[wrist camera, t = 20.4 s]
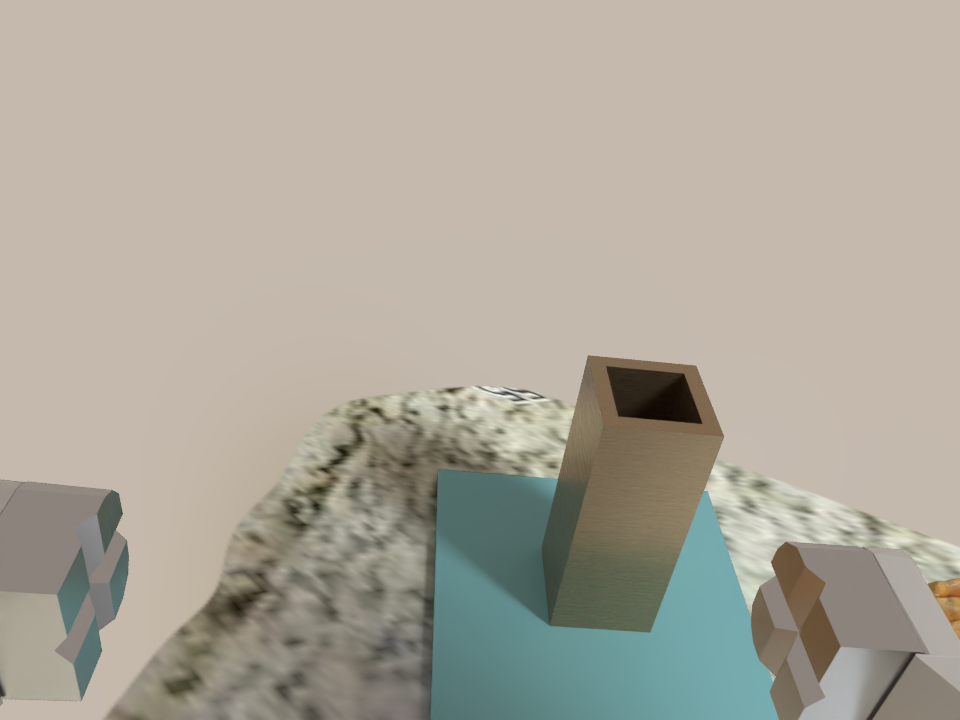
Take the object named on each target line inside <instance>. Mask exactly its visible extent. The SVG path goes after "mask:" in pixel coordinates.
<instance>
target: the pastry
mask: <svg viewBox="0 0 960 720" xmlns="http://www.w3.org/2000/svg"><path fill="white" fill-rule="evenodd" d="M927 585H928V586H929V588H930V590H931V591H932V593H933V595H934V597H935V598H936V600H937V602H938V603H939V605H940V607H941V609H942V610H943V612H944V614H945V615H946V617H947V619H948V621H949V622H950V624H951V626H952V628H953V629H954V631H955V633H956V634H957V636H958V638H959V640H960V578H957V579H952V580H948V581H936V582H932V583H929V584H927Z"/></svg>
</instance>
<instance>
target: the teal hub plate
mask: <svg viewBox="0 0 960 720" xmlns="http://www.w3.org/2000/svg"><path fill="white" fill-rule="evenodd" d="M557 482H558V479H551V478H539V477H527V476H515V475H503V474H490V473H478V472H466V471H454V470H442V469H439V470H438V482H437V514H436V546H435V578H434V611H433V643H432V675H431V707H430V720H779V718H778V715H777V712H776V709H775V706H774V703H773V700H772V698H771V695H770V692H769V691H770V689H771V687H772V684H773V681H772V678H771V675H770V673H769V670H768V668H767V667H766V666H765V665H764V664H763V663H762V662H760V661H759V659H758V656H757V653H756V650H755V646H754V643H753V638H752V630H751V617H750V614H749V611H748V608H747V605H746V602H745V599H744V596H743V594H742V591H741V588H740V585H739V582H738V579H737V576H736V573H735V570H734V567H733V564H732V561H731V558H730V555H729V553H728V550H727V547H726V544H725V541H724V538H723V535H722V532H721V529H720V526H719V523H718V520H717V517H716V514H715V512H714V509H713V506H712V503H711V500H710V497H709V494H708V491H703V494H702V497H701V499H700V502H699V505H698V507H697V510H696V513H695V515H694V518H693V521H692V523H691V526H690V529H689V531H688V534H687V537H686V539H685V542H684V545H683V547H682V550H681V553H680V555H679V558H678V561H677V563H676V566H675V569H674V571H673V574H672V577H671V579H670V582H669V585H668V587H667V590H666V592H665V595H664V598H663V600H662V603H661V606H660V608H659V611H658V614H657V616H656V619H655V622H654V624H653V627H652V630H651V632H650V633H647V632H632V631H617V630H602V629H587V628H572V627H557V626H549V616H548V607H547V597H546V587H545V578H544V568H543V559H542V549H541V548H542V544H543V540H544V535H545V531H546V527H547V523H548V519H549V515H550V511H551V507H552V502H553V498H554V494H555V490H556V486H557Z"/></svg>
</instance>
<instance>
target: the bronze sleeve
mask: <svg viewBox="0 0 960 720" xmlns="http://www.w3.org/2000/svg"><path fill="white" fill-rule="evenodd" d="M723 438H724V435H723V433H722V430H721V428H720V425H719V423H718V420H717V418H716V415H715V413H714V410H713V407H712V405H711V402H710V400H709V397H708V395H707V392H706V390H705V387H704V385H703V382H702V380H701V377H700V375H699V372H698V369H697V367H696V366H693V365H683V364H672V363H662V362H651V361H641V360H629V359H619V358H609V357H599V356H588V358H587V362H586V366H585V370H584V375H583V379H582V383H581V387H580V391H579V395H578V399H577V404H576V407H575V411H574V416H573V420H572V424H571V428H570V432H569V436H568V440H567V445H566V449H565V453H564V457H563V461H562V465H561V469H560V473H559V478H558V482H557V486H556V490H555V494H554V498H553V502H552V507H551V511H550V515H549V519H548V523H547V527H546V531H545V535H544V540H543V544H542V548H541V549H542V559H543V568H544V578H545V587H546V597H547V607H548V616H549V626H557V627H572V628H587V629H602V630H617V631H632V632H647V633H650V632H651V630H652V627H653V624H654V622H655V619H656V616H657V614H658V611H659V608H660V606H661V603H662V600H663V598H664V595H665V592H666V590H667V587H668V585H669V582H670V579H671V577H672V574H673V571H674V569H675V566H676V563H677V561H678V558H679V555H680V553H681V550H682V547H683V545H684V542H685V539H686V537H687V534H688V531H689V529H690V526H691V523H692V521H693V518H694V515H695V513H696V510H697V507H698V505H699V502H700V499H701V497H702V494H703V491H704V489H705V486H706V484H707V481H708V478H709V476H710V473H711V470H712V468H713V465H714V462H715V460H716V457H717V454H718V452H719V449H720V446H721V444H722V441H723Z"/></svg>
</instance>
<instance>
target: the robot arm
mask: <svg viewBox="0 0 960 720" xmlns="http://www.w3.org/2000/svg"><path fill="white" fill-rule="evenodd" d="M122 514H123V513H122V508H121V503H120V498H119V494H118V493H117V492H115V491H113V490H104V489H95V488H85V487H74V486H64V485H56V484H46V483H36V482H17V481H8V480H7V481H6V480H0V705H2V699H20V700H21V699H22V700H56V701H82V699H83V696H84V694H85V691H86V689H87V686H88V684H89V681H90V679H91V677H92V674H93V672H94V669H95V667H96V664H97V662H98V660H99V657H100V655H101V652H102V648H101V642H100V637H99V630H100V629H102V628H103V627H104V626H106V625H107V624H108V623H110V622H111V621H112V620H114V619H115V617H116V615H117V612H118V609H119V607H120V604H121V601H122V599H123V595H124V590H125V585H126V581H127V576H128V561H129V555H128V547H127V540H126V539H125V538H123V536H121V535H120V534H119V533H118V532H117V531H116V528H117V526H118V523H119V521H120V519H121V516H122ZM771 563H772V566H773V569H774V571H775V574H776V576H775V577H773V578H772V579H770V580H769V581H767V582H766V583H764V584H763V585H761V586H760V587H759V590H758V592H757V595H756V597H755V599H754V602H753V604H752V616H751V630H752V638H753V643H754V646H755V650H756V653H757V656H758V659H759V661H760V662H762V663H763V664H764V665H765V666H766V667H767V668H768V669H769V670H770V671H771V672H772V673H773V674H774V675H775V676H776V678H775V680H774V682H773V684H772V687H771V689H770V691H769V692H770V695H771V698H772V700H773V703H774V706H775V709H776V712H777V715H778V718H779V720H960V640H959V638H958V636H957V634H956V633H955V631H954V629H953V628H952V626H951V624H950V622H949V621H948V619H947V617H946V615H945V614H944V612H943V610H942V609H941V607H940V605H939V603H938V602H937V600H936V598H935V597H934V595H933V593H932V591H931V590H930V588H929V586H928V585H927V583H926V581H925V579H924V578H923V576H922V574H921V572H920V571H919V569H918V567H917V566H916V564H915V562H914V560H913V559H912V557H911V556H910V555H908V554H907V553H906V552H905V551H903V550H902V549H888V548H873V547H862V548H860V547H857V546H843V545H828V544H813V543H798V542H785V543H784V544H783V545H782V546H780V547H779V548H778V549H777V551H776V553H775V555H774V557H773V560H772V562H771Z"/></svg>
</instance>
